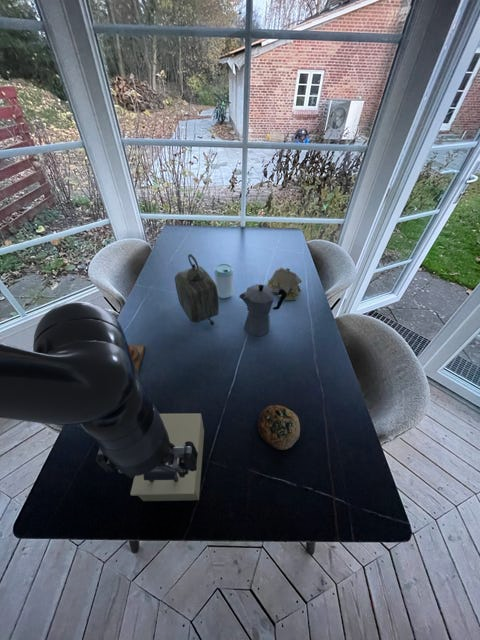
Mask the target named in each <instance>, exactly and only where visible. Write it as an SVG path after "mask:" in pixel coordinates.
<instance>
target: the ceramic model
mask: <svg viewBox="0 0 480 640" xmlns="http://www.w3.org/2000/svg"><path fill="white" fill-rule="evenodd" d="M302 282H303V281H302V279H301V277H299V276H298V275H297V273H296V272H294V271H291V269H290V268H287V267H286V268H284V267H279V268H277V269H276V270H275V271H274V273H273V274H272V277H271V278H269V279H268V281H267V286H269V287H270V288H271V289H272V290H273V289H284V290H285V291H286V292H287V296H286V298H285V300H284V301H296V300H298V296H299V295H300V294H301V292H302V289H301V285H300V284H301V283H302ZM277 296H278V297H279V298H280V297H281V295H277Z"/></svg>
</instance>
